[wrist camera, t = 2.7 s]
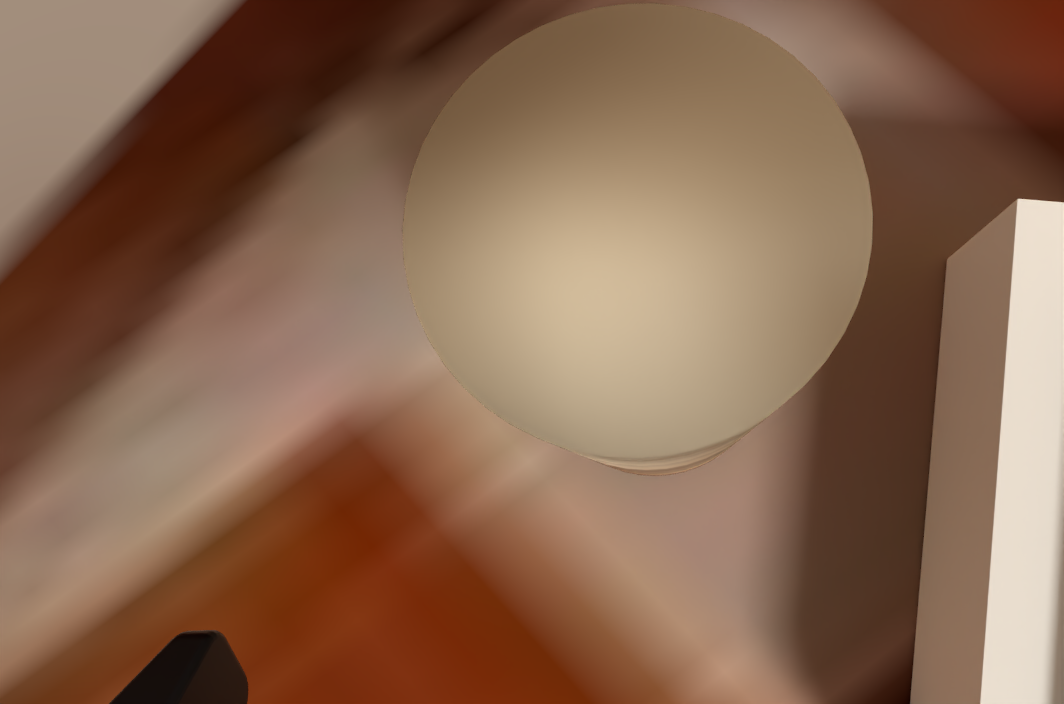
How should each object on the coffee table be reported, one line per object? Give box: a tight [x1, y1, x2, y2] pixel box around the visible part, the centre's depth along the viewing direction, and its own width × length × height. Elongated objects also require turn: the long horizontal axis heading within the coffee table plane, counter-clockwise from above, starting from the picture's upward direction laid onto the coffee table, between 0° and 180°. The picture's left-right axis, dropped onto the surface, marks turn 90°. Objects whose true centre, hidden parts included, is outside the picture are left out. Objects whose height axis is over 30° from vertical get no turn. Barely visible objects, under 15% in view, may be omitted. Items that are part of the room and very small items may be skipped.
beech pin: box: [402, 3, 873, 476], centre depth 15 cm, size 5×5×11 cm
